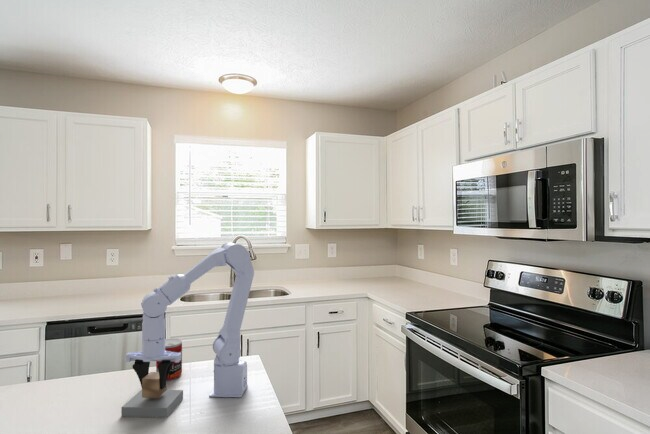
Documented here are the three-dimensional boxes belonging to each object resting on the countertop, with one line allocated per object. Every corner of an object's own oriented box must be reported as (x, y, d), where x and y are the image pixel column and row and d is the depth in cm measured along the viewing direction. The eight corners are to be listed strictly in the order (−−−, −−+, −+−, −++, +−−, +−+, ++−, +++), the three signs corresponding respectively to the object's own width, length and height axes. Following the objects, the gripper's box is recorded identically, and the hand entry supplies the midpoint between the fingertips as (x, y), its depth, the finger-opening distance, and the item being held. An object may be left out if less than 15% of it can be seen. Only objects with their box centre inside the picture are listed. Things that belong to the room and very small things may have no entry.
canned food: (173, 381, 117) (173, 347, 117) (150, 379, 118) (150, 345, 118) (186, 372, 124) (186, 339, 124) (165, 370, 126) (165, 337, 126)
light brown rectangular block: (166, 390, 104) (166, 372, 104) (158, 397, 99) (158, 379, 99) (150, 389, 104) (150, 371, 104) (142, 397, 99) (142, 378, 99)
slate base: (183, 398, 106) (183, 389, 106) (166, 417, 96) (166, 407, 96) (141, 397, 106) (141, 389, 106) (121, 416, 96) (121, 407, 96)
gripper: (119, 342, 97) (119, 393, 97) (173, 342, 97) (173, 394, 97) (133, 333, 104) (133, 382, 104) (184, 334, 104) (184, 382, 104)
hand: (153, 387), depth 101 cm, fingers closed on light brown rectangular block, 4 cm apart
